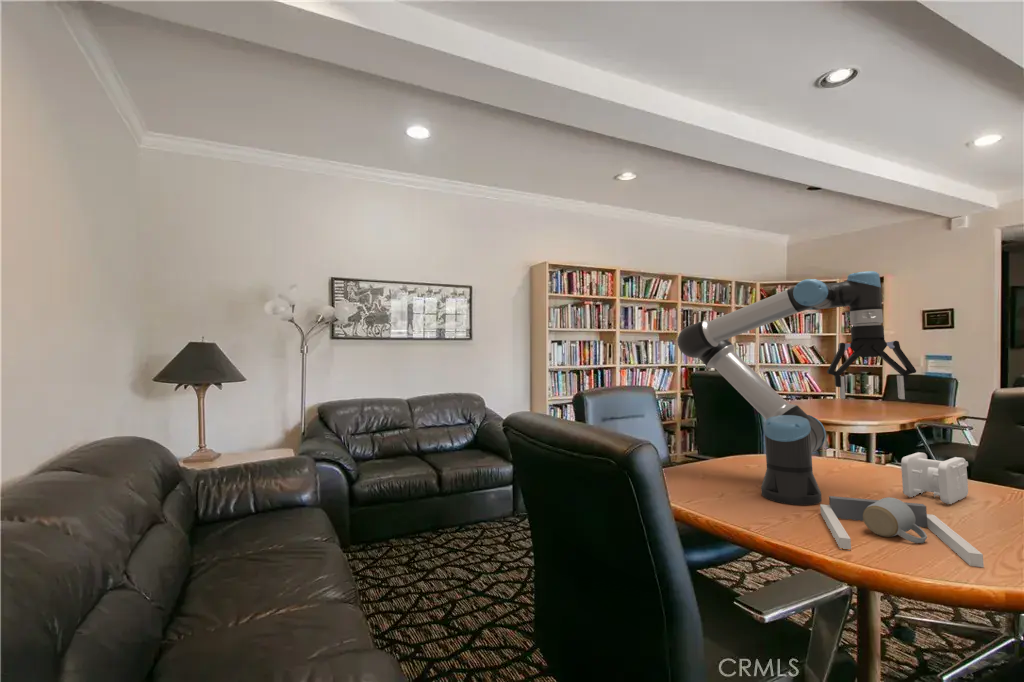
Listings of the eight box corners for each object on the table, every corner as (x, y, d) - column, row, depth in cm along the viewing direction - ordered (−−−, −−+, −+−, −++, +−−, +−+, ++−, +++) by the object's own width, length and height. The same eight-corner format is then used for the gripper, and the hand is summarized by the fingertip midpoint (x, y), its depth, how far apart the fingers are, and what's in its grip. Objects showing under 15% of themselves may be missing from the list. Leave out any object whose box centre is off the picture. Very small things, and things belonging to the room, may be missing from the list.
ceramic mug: (860, 532, 107) (859, 499, 107) (877, 525, 111) (876, 493, 111) (917, 548, 97) (915, 512, 98) (934, 540, 101) (932, 505, 102)
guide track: (840, 549, 98) (838, 525, 98) (820, 513, 120) (819, 494, 120) (983, 567, 88) (981, 541, 88) (934, 525, 109) (932, 504, 110)
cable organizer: (923, 489, 137) (921, 450, 138) (971, 498, 128) (968, 456, 129) (902, 498, 130) (899, 457, 130) (951, 508, 121) (948, 464, 121)
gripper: (817, 327, 134) (822, 399, 133) (927, 321, 123) (933, 400, 122) (813, 328, 140) (817, 397, 139) (917, 323, 129) (922, 397, 128)
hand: (871, 398), depth 131 cm, fingers open, 13 cm apart
